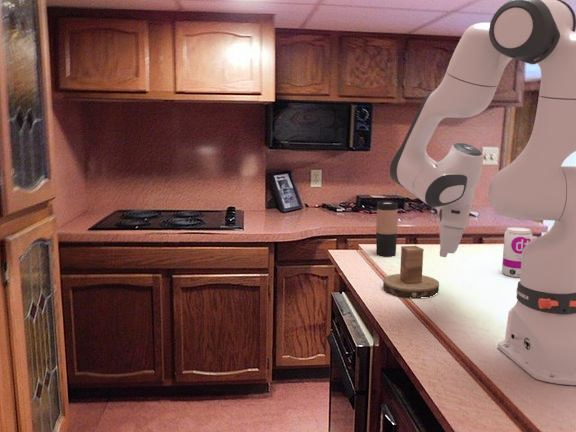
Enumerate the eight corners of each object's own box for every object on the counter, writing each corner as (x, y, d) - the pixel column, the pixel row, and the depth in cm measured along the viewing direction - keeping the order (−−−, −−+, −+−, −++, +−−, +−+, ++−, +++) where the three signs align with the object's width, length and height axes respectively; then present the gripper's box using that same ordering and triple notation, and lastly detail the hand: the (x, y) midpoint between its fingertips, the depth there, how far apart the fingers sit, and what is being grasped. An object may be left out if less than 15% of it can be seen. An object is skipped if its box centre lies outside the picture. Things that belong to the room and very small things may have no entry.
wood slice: (445, 288, 150) (445, 278, 150) (428, 303, 137) (429, 293, 137) (394, 280, 159) (395, 270, 158) (374, 293, 146) (374, 283, 145)
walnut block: (421, 282, 146) (423, 249, 144) (407, 283, 145) (408, 249, 143) (414, 278, 150) (415, 245, 149) (399, 279, 149) (401, 246, 148)
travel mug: (374, 256, 187) (375, 203, 184) (377, 251, 194) (378, 200, 191) (395, 257, 185) (396, 204, 181) (397, 253, 192) (398, 201, 189)
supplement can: (532, 278, 158) (536, 232, 155) (504, 277, 159) (507, 231, 157) (525, 271, 165) (529, 227, 163) (499, 270, 167) (502, 226, 165)
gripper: (439, 179, 137) (430, 220, 145) (442, 223, 121) (430, 266, 129) (463, 183, 136) (452, 223, 144) (469, 227, 120) (456, 270, 128)
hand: (442, 244), depth 137 cm, fingers open, 8 cm apart
